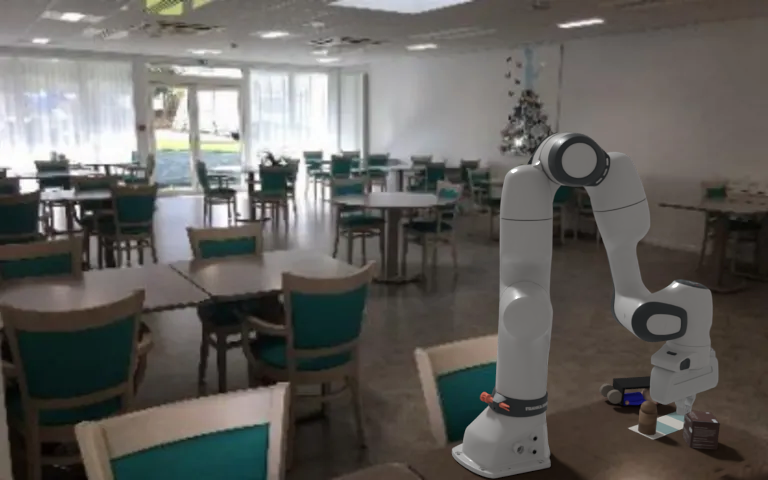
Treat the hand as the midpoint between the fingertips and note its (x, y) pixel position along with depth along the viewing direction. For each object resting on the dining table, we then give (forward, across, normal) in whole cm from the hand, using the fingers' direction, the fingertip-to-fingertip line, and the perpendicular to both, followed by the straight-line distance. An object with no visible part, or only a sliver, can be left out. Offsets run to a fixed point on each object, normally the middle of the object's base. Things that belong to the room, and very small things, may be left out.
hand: (683, 413), depth 147 cm
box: (+10, -8, -1) cm, 13 cm away
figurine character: (+10, -14, -24) cm, 29 cm away
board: (+10, -10, -11) cm, 17 cm away
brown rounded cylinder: (+9, -2, -10) cm, 14 cm away
